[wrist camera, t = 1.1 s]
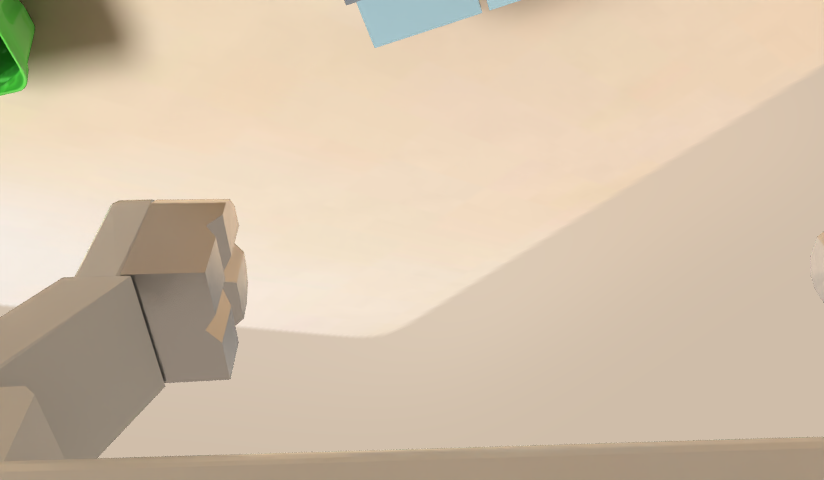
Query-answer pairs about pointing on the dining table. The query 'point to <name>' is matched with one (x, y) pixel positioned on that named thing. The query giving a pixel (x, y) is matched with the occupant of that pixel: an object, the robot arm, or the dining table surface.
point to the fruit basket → (14, 45)
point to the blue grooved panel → (414, 16)
